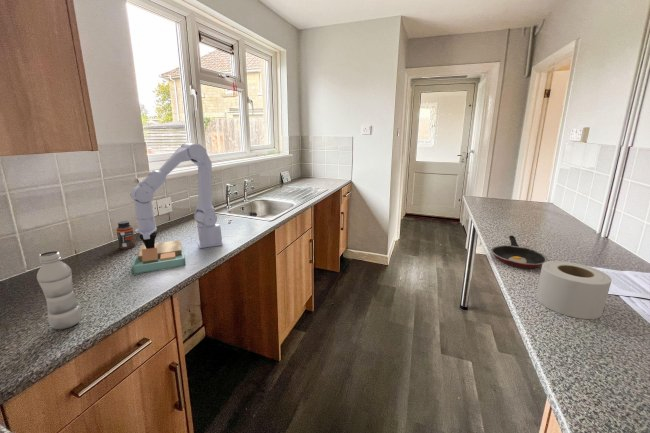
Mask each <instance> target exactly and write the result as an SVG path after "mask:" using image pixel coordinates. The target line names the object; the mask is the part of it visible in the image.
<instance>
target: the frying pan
mask: <svg viewBox="0 0 650 433" xmlns="http://www.w3.org/2000/svg"><path fill="white" fill-rule="evenodd" d="M508 239H509V241H510V245H509V244H507V245H506V244H504V245H503V244H502V245H500V244H499V245H495V246H492V247H491V248H490V251H491V253H492V254H493V257H495V258H496V259H497V261H499V262H500V263H502V264H504V265H507V266H511V267H514V268H518V269H535V268H538V267H540V266H541V267H542V264H543V263H544V262H547V261H549V260H548V259H549V258H548V257H547V256H546V255H544V254H543V253H541V252H539V251H537V250H534V249H530V248H526V247H524V246H523V247H522V246H520V245H519V244H518V242H517V239H516V237H515V236H514V235H511V234H510V235H509V237H508Z"/></svg>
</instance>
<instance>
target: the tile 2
mask: <svg viewBox="0 0 650 433" xmlns="http://www.w3.org/2000/svg"><path fill="white" fill-rule="evenodd" d="M173 259H176V255H175V252H171V253H165V254H161V257H160V260H161V261H167V260H173Z"/></svg>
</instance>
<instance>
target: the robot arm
mask: <svg viewBox="0 0 650 433" xmlns="http://www.w3.org/2000/svg"><path fill="white" fill-rule="evenodd" d="M190 161H191V162H192V163H193V164H195V166H197V183H198V184H197V185H198V186H197V188H198V203H197V205H196V207H195V211H194V214H193V218H194V220H195V222H197V226H196V227H197V232H198V233H197V234H198V241H197V243H198V248H199V249H205V248H211V247H218V246H222V245H223V237H222V228H221V225H220V223H217V221H218V216H217V214H216V209H215V207H214V205H213V200H212V198H213V196H212V195H213V192H212V190H213V189H212V188H213V186H212V185H213V184H212V183H213V182H212V181H213V180H212V178H213V172H212V171H213V170H212V169H213V168H212V166H213V164H212V160H211V158H210V156H209V155H208V152H207V149H206V148H205V147H204V146H203V145H202V144H201V143H200V144H199V143H190V142H184V143H182V145H181V146H179V147H178V148H177V149H176V150H175V151H174V152H173V153H172V155H171V156H170V157H169V158H168V159H167V160H166V162H165V163H164V164H163V165H162V166H160V168H159V169H158V170H155V169H154V170H152V171H148V172H147V176H146V177H145V178H144V179H143V180H142V181H139V182H138V184H137V186H134V187H133V188H132V189H131V192H130V197H131V198H132V199H133V202H134V208H135V216H136V222H137V227H138V228H136V229H135V230H134V232H135V233H139V234H140V235H139V239H140V241H142V242H143V245H145V246H146V249H149V248H155V243H156V242H155V240H156V238H157V234H158V231H157V230H158V229H157V225H156V221H155V220H156V219H155V212H154V206H153V202H152V200H153V198H154V194H155V193H156V192H157V191H158V190H159V189H160V188H161V187H162V186H163V185H164V184H165V183H166V182H167V176H168V175H169V174H170V173H172V171H173V170H175V169H176V167H178V166H179V165H180V164H181V163H184V162H190Z"/></svg>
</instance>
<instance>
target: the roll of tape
mask: <svg viewBox="0 0 650 433" xmlns="http://www.w3.org/2000/svg"><path fill="white" fill-rule="evenodd" d="M611 283H612V278H611V277H610V275H608V274H607V273H605V272H604V271H602V270H599V269H597V268H594V267H591V266H590V265H589V266H588V265H584V264H581V263H577V262H576V263H575V262H571V261H564V260H548V261H547V262H544V263H543V264H542V265H541V270H540V274H539V279H538V284H537V287H536V288H537V289H536V293H535V298H536V301H538V303H540V304H541V305H542V306H544V307H545V308H547V309H548V310H551V311H552V312H555V313H557V314H559V315H560V314H561V315H564V316H568V317H570V318H575V319H580V320H595V319H596V320H597V319H598V318H601V317H602V316H603V312H604V310H605V305H606V303H607V297H608V296H609V292H610V287H611V285H612V284H611Z"/></svg>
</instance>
